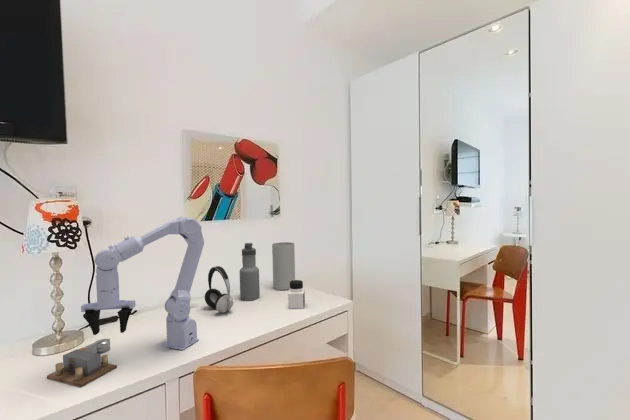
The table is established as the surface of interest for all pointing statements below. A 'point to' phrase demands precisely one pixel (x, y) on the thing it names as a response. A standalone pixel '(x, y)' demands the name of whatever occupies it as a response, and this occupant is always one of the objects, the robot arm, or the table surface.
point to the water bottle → (249, 274)
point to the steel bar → (82, 362)
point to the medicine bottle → (296, 295)
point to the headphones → (218, 292)
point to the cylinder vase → (283, 265)
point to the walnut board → (86, 378)
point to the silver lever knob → (98, 346)
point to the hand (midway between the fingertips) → (109, 332)
